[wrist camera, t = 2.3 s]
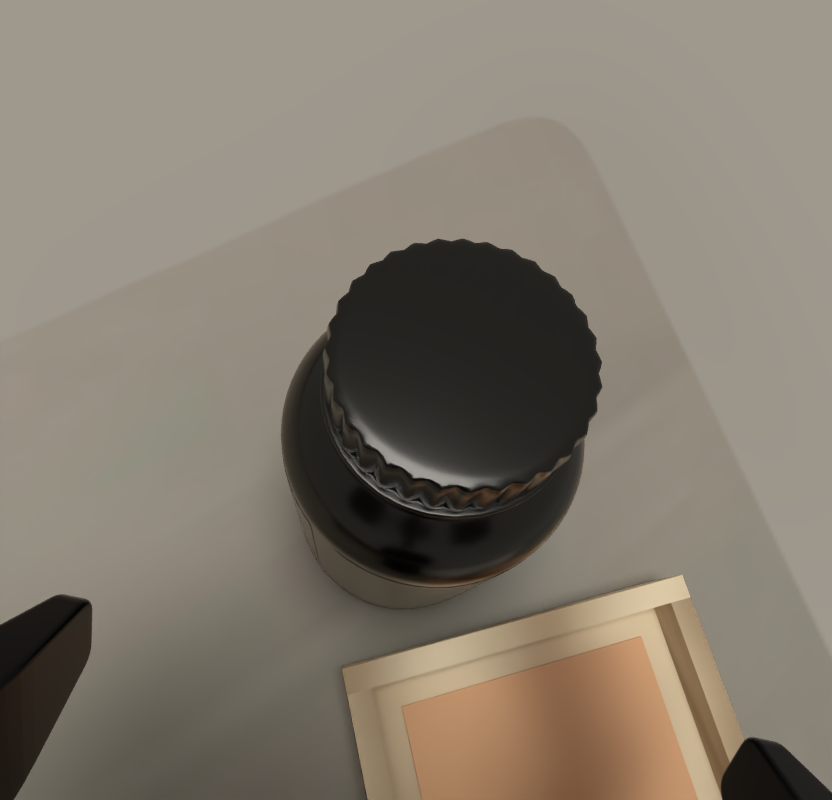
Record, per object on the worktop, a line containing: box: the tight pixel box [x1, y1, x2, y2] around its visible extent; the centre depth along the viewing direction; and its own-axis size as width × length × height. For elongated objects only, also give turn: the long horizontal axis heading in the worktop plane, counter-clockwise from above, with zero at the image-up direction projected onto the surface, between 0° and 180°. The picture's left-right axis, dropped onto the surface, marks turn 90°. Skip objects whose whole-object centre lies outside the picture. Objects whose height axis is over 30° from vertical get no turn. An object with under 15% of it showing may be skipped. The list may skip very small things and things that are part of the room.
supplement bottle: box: [281, 239, 602, 609], centre depth 16 cm, size 7×7×12 cm
